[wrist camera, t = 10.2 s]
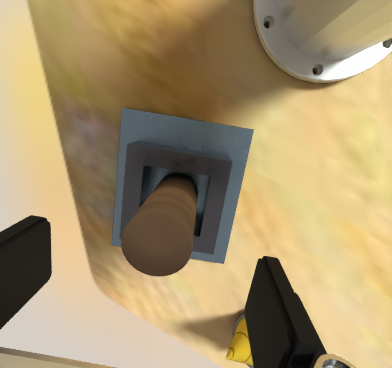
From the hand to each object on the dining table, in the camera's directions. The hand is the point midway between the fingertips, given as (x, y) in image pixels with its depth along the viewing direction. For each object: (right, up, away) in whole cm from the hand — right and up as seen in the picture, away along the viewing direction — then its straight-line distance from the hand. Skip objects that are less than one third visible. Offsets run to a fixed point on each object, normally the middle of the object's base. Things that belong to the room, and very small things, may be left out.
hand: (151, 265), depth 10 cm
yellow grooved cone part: (+8, -12, +17) cm, 23 cm away
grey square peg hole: (0, +3, +13) cm, 13 cm away
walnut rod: (0, +3, +12) cm, 13 cm away
